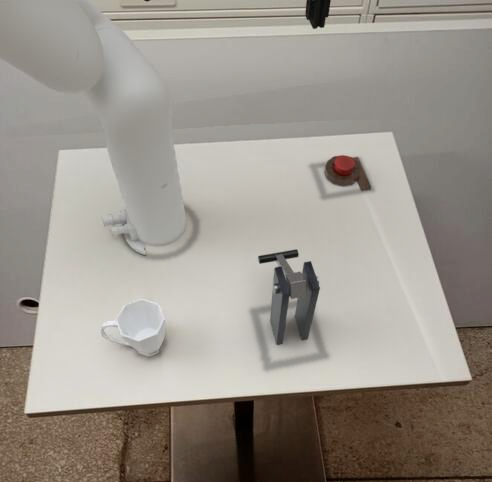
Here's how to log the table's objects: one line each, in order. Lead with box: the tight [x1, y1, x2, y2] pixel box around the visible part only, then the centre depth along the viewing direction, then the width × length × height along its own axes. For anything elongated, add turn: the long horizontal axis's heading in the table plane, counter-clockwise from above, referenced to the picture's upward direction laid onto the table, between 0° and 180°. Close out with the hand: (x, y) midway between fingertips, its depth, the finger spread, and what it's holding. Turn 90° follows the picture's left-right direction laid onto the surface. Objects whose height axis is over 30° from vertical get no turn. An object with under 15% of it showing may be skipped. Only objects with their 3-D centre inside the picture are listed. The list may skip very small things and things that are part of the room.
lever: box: [257, 248, 307, 300], centre depth 70 cm, size 12×6×2 cm, turn 12°
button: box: [332, 154, 355, 177], centre depth 92 cm, size 4×4×2 cm
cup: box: [100, 297, 166, 358], centre depth 74 cm, size 7×10×8 cm
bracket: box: [269, 260, 321, 346], centre depth 72 cm, size 10×9×16 cm
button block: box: [323, 154, 372, 192], centre depth 93 cm, size 9×8×2 cm
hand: (315, 22), depth 72 cm, fingers closed
